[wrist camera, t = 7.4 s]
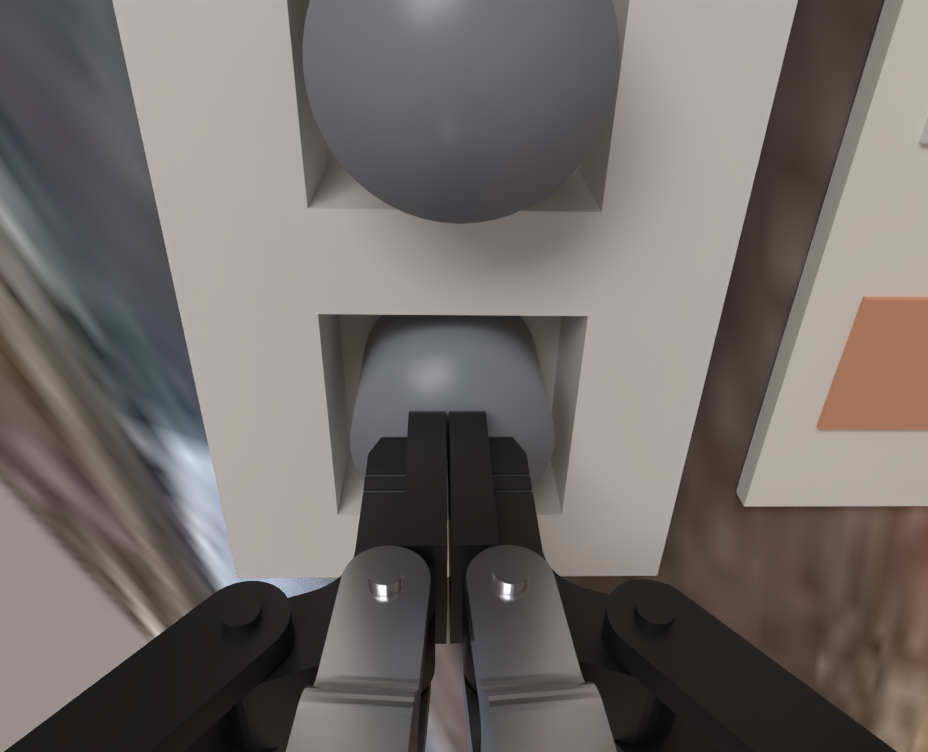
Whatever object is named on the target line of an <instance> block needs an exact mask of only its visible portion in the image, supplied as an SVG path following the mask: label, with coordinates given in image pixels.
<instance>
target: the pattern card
mask: <svg viewBox="0 0 928 752" xmlns="http://www.w3.org/2000/svg"><path fill="white" fill-rule="evenodd" d="M736 492H737V494H738V496H739V498H740V500H741V502H742V504H743V506H928V0H885V1H884V5H883V8H882V11H881V15H880V18H879V21H878V25H877V28H876V31H875V34H874V38H873V41H872V44H871V48H870V51H869V54H868V58H867V61H866V64H865V67H864V71H863V74H862V77H861V81H860V84H859V87H858V91H857V94H856V97H855V100H854V104H853V107H852V110H851V114H850V117H849V120H848V124H847V127H846V130H845V133H844V137H843V140H842V143H841V147H840V150H839V153H838V157H837V160H836V163H835V166H834V170H833V173H832V176H831V180H830V183H829V186H828V190H827V193H826V196H825V199H824V203H823V206H822V209H821V213H820V216H819V219H818V223H817V226H816V229H815V233H814V236H813V239H812V242H811V246H810V249H809V252H808V256H807V259H806V262H805V266H804V269H803V272H802V275H801V279H800V282H799V285H798V289H797V292H796V295H795V299H794V302H793V305H792V308H791V312H790V315H789V318H788V322H787V325H786V328H785V332H784V335H783V338H782V341H781V345H780V348H779V351H778V355H777V358H776V361H775V365H774V368H773V371H772V374H771V378H770V381H769V384H768V388H767V391H766V394H765V398H764V401H763V404H762V407H761V411H760V414H759V417H758V421H757V424H756V427H755V431H754V434H753V437H752V440H751V444H750V447H749V450H748V454H747V457H746V460H745V464H744V467H743V470H742V473H741V477H740V480H739V483H738V487H737V490H736Z"/></svg>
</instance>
